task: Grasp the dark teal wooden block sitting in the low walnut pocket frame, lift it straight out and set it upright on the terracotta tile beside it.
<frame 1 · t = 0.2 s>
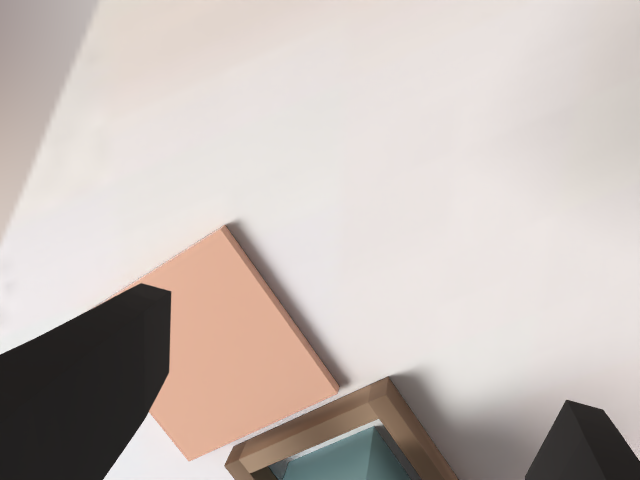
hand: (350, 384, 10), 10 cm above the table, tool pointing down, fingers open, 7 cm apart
terracotta tile: (207, 349, 23), on the table
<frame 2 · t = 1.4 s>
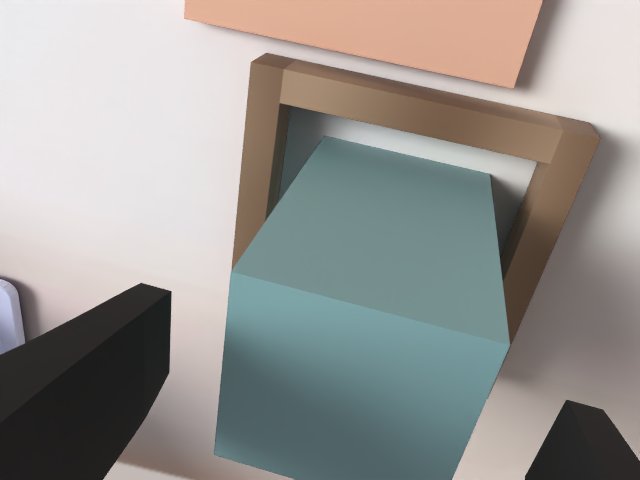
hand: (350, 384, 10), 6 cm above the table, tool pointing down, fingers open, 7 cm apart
teal block: (387, 227, 16), resting in pocket frame
pocket frame: (387, 228, 16), on the table
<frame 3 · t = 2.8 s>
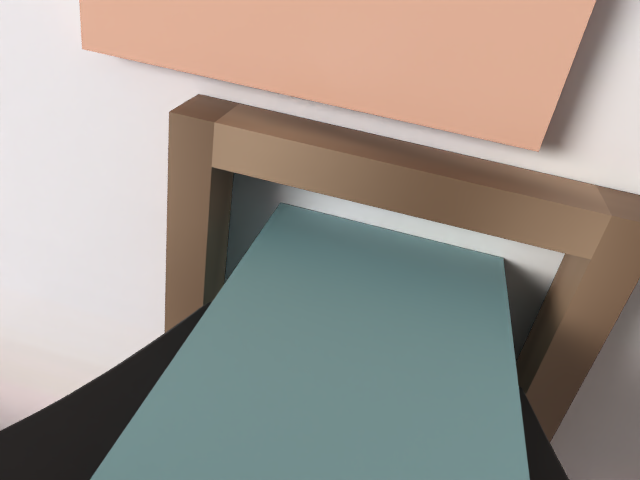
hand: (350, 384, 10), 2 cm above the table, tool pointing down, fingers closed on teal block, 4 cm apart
teal block: (366, 318, 12), resting in pocket frame, touching gripper
pocket frame: (366, 319, 12), on the table
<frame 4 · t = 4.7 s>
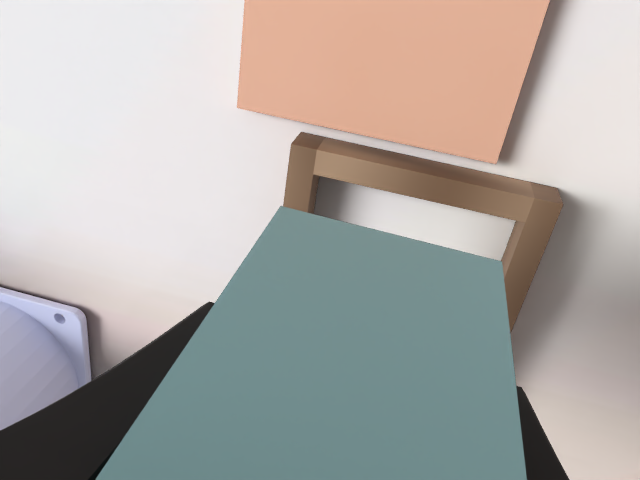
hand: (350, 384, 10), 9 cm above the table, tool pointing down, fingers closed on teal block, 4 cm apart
teal block: (366, 320, 12), point 7 cm above the table, touching gripper
pocket frame: (397, 266, 19), on the table
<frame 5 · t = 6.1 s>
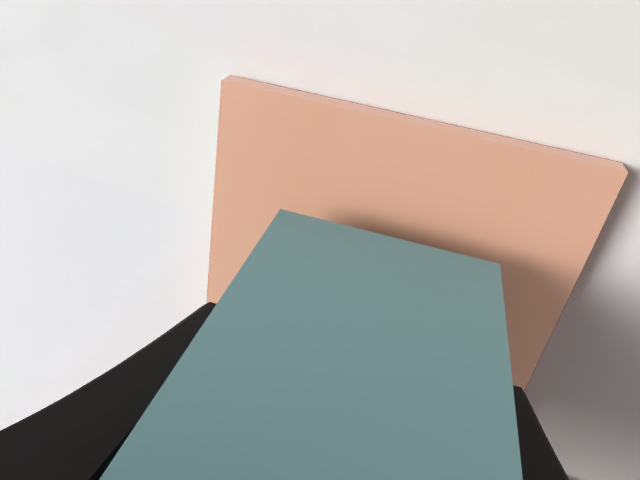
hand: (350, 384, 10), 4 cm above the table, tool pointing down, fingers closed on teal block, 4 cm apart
teal block: (365, 322, 12), point 2 cm above the table, touching gripper
terracotta tile: (376, 279, 13), on the table
when the fingers open (4 cm above the table, at t = 6.9 s): teal block stays where it is, resting on terracotta tile.
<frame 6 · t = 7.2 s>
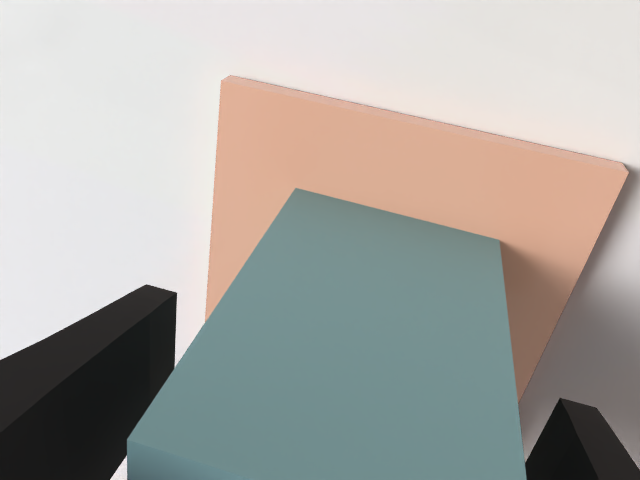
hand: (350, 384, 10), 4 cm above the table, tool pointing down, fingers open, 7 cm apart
teal block: (372, 296, 13), resting on terracotta tile
terracotta tile: (376, 279, 13), on the table
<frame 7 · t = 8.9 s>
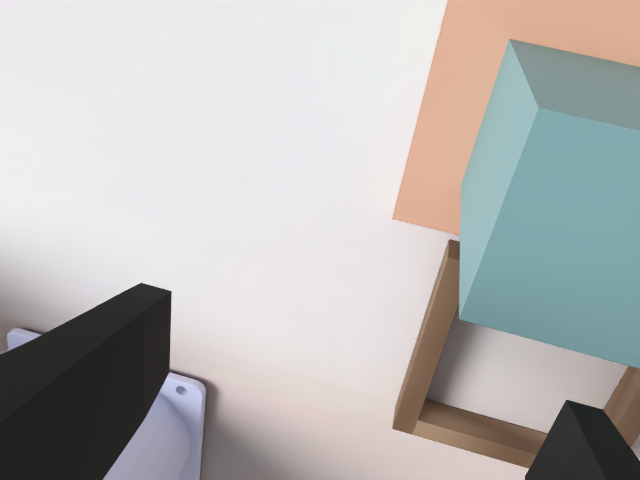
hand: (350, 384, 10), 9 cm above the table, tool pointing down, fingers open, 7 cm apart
teal block: (560, 135, 16), resting on terracotta tile
terracotta tile: (559, 124, 16), on the table
pocket frame: (527, 360, 20), on the table
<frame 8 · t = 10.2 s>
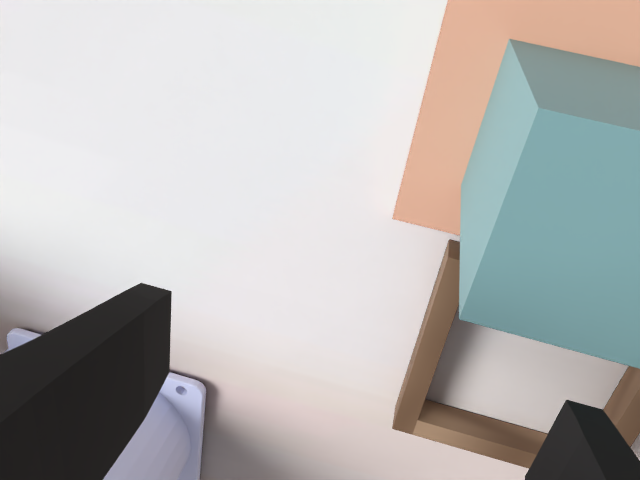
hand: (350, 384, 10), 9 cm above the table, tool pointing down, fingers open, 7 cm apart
teal block: (560, 135, 16), resting on terracotta tile
terracotta tile: (559, 124, 16), on the table
pocket frame: (527, 360, 20), on the table
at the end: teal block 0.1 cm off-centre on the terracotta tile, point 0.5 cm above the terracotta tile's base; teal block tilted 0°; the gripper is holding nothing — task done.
